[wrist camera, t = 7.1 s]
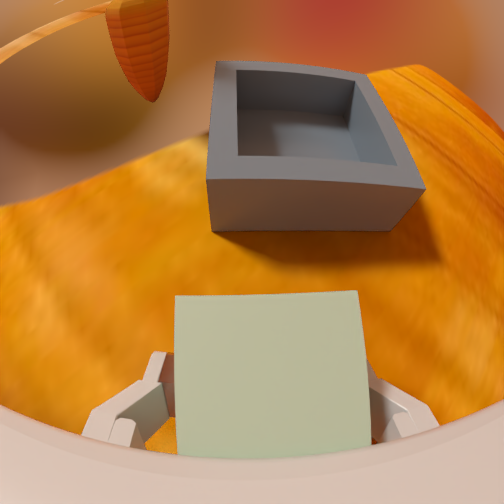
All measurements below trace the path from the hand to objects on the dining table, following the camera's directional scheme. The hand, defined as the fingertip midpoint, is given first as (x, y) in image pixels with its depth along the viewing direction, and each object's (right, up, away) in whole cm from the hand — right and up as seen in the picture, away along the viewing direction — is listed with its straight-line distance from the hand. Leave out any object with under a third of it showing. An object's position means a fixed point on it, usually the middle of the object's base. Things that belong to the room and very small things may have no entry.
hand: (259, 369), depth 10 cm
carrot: (-9, +18, +13) cm, 24 cm away
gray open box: (+3, +11, +11) cm, 16 cm away
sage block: (0, -3, +4) cm, 5 cm away
